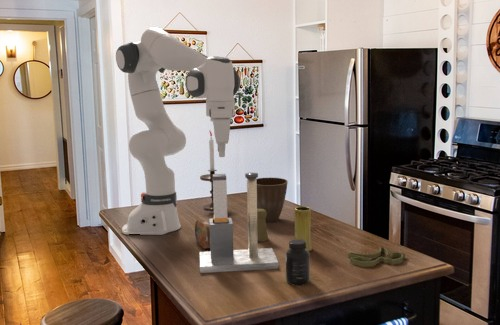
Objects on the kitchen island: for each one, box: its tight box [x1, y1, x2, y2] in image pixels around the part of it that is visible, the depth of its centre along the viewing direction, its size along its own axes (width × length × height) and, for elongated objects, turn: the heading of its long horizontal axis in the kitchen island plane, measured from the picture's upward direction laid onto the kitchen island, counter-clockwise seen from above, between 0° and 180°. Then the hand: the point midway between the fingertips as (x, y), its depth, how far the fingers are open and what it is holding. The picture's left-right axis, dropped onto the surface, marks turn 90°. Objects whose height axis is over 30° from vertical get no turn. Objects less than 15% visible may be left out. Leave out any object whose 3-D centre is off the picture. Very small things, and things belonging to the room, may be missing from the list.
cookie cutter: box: [347, 246, 406, 268], centre depth 178 cm, size 18×12×2 cm, turn 114°
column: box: [213, 173, 229, 224], centre depth 174 cm, size 4×4×20 cm
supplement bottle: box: [285, 238, 311, 286], centre depth 160 cm, size 7×7×12 cm
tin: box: [194, 219, 210, 250], centre depth 196 cm, size 15×3×8 cm, turn 22°
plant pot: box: [257, 177, 289, 223], centre depth 226 cm, size 15×15×16 cm
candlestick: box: [199, 130, 217, 212], centre depth 245 cm, size 11×11×35 cm
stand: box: [199, 172, 279, 274], centre depth 175 cm, size 24×14×29 cm, turn 96°
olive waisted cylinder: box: [257, 209, 269, 242], centre depth 201 cm, size 6×6×11 cm
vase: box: [293, 206, 313, 252], centre depth 188 cm, size 6×6×14 cm
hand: (221, 154), depth 175 cm, fingers open, 8 cm apart
